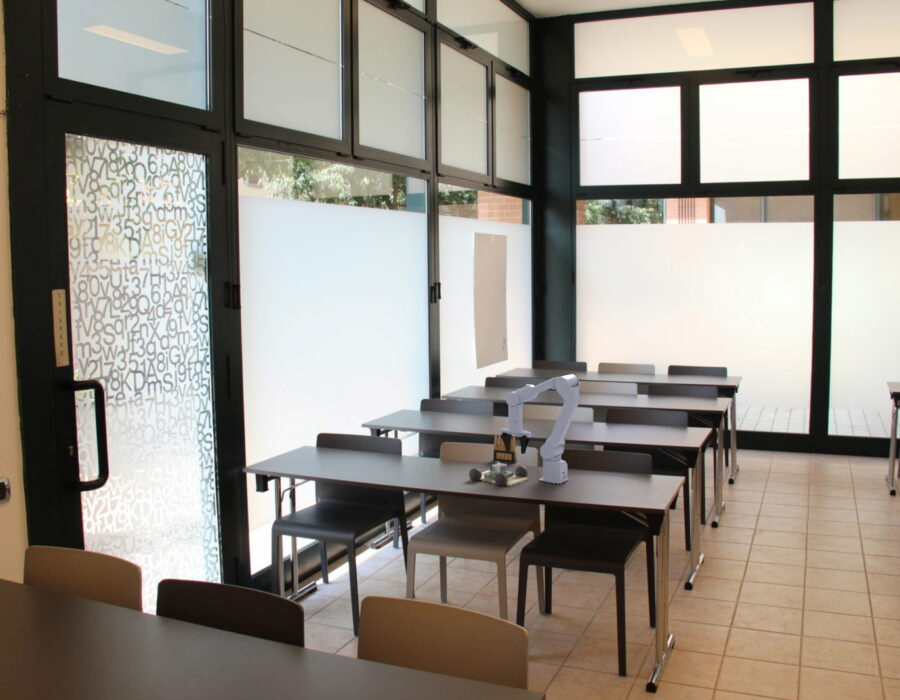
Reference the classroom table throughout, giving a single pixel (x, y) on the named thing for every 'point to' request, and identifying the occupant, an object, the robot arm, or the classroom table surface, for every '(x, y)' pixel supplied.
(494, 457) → the ammunition clip
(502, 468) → the engine block
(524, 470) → the chassis
